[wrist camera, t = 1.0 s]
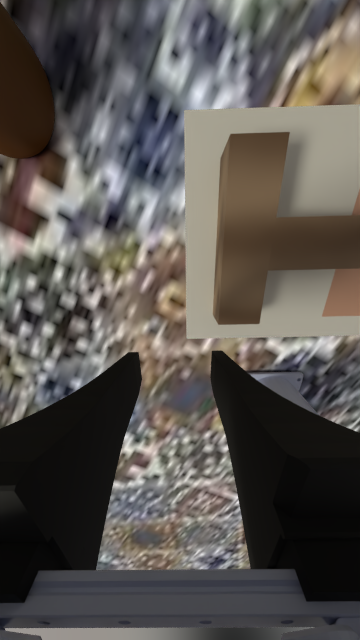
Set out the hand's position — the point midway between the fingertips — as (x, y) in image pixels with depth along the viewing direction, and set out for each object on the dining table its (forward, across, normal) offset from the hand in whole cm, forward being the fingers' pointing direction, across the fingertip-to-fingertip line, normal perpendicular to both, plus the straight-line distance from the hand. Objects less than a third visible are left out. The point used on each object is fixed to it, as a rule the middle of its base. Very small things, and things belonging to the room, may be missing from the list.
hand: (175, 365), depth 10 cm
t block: (+9, -11, -7) cm, 16 cm away
